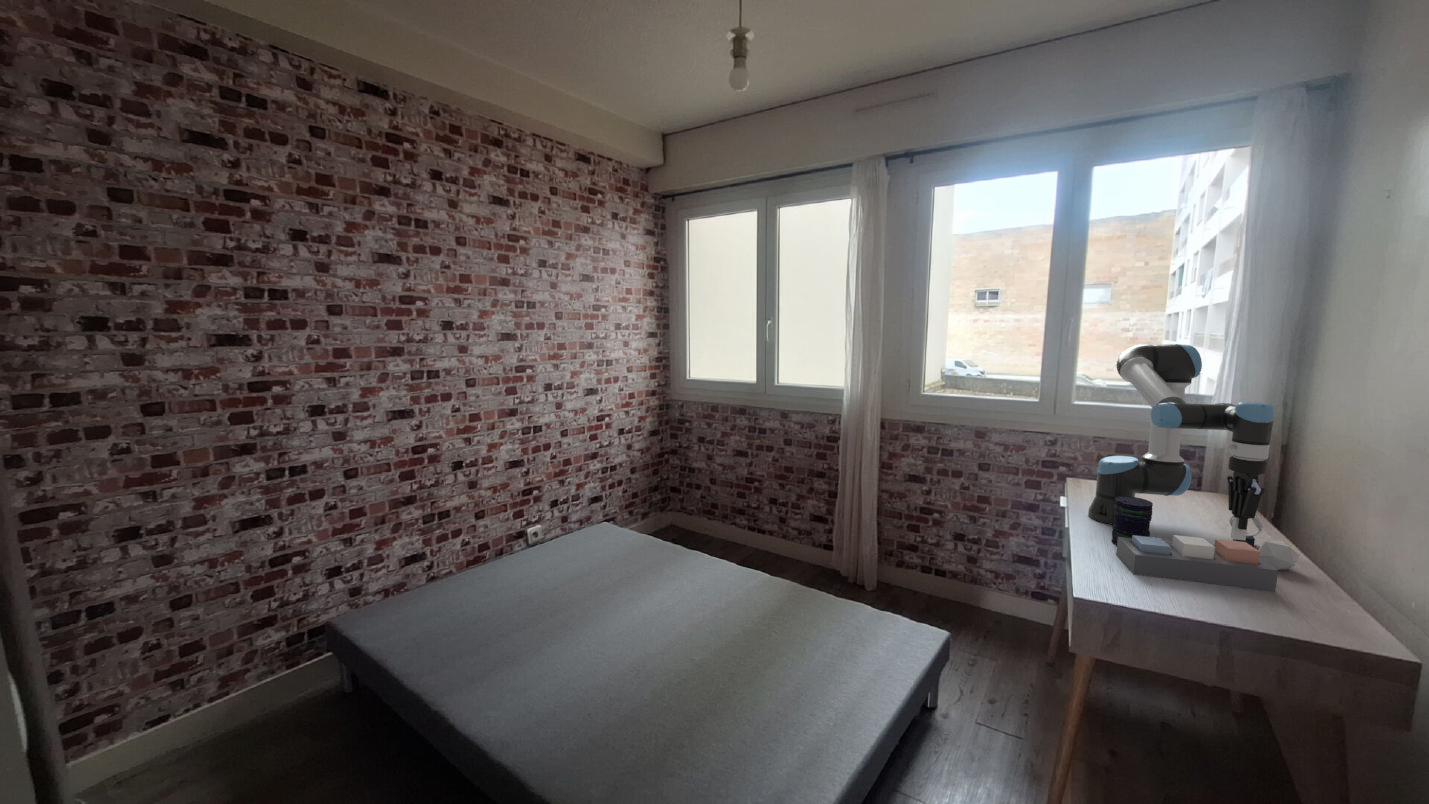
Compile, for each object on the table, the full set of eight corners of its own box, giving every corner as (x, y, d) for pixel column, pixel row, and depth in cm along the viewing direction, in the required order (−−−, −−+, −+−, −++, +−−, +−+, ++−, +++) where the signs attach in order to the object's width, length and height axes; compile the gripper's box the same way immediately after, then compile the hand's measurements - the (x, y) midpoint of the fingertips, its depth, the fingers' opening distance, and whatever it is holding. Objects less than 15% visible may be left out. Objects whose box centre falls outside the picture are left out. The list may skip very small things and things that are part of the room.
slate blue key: (1130, 550, 165) (1132, 535, 164) (1158, 553, 163) (1160, 538, 162) (1139, 560, 159) (1141, 543, 158) (1169, 563, 156) (1170, 547, 155)
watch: (1262, 549, 172) (1266, 516, 171) (1227, 543, 177) (1231, 511, 176) (1258, 544, 177) (1263, 511, 175) (1225, 538, 182) (1229, 507, 180)
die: (1275, 563, 164) (1252, 536, 166) (1311, 559, 157) (1287, 531, 158) (1267, 578, 160) (1244, 551, 162) (1303, 576, 153) (1279, 547, 154)
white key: (1171, 550, 162) (1173, 535, 161) (1200, 553, 159) (1202, 537, 158) (1182, 560, 155) (1184, 543, 154) (1212, 563, 153) (1214, 547, 152)
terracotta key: (1213, 555, 158) (1215, 539, 157) (1243, 558, 156) (1245, 542, 155) (1226, 565, 152) (1228, 548, 151) (1257, 568, 149) (1260, 551, 149)
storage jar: (1133, 538, 182) (1137, 496, 180) (1156, 550, 173) (1161, 505, 170) (1103, 538, 182) (1107, 496, 180) (1125, 550, 173) (1129, 505, 171)
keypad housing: (1116, 554, 170) (1117, 536, 169) (1245, 569, 159) (1247, 550, 158) (1133, 574, 157) (1135, 554, 156) (1275, 591, 146) (1278, 570, 145)
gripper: (1218, 451, 157) (1209, 529, 160) (1244, 462, 145) (1234, 545, 148) (1251, 453, 154) (1241, 532, 158) (1280, 464, 142) (1269, 549, 145)
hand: (1237, 538), depth 153 cm, fingers closed
